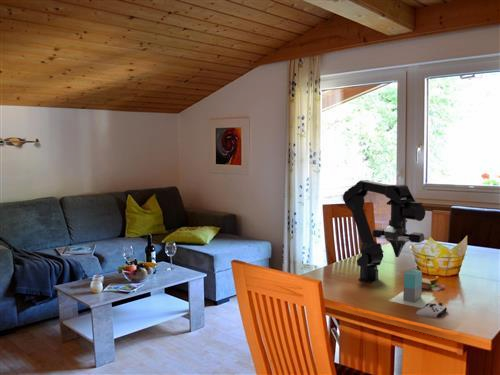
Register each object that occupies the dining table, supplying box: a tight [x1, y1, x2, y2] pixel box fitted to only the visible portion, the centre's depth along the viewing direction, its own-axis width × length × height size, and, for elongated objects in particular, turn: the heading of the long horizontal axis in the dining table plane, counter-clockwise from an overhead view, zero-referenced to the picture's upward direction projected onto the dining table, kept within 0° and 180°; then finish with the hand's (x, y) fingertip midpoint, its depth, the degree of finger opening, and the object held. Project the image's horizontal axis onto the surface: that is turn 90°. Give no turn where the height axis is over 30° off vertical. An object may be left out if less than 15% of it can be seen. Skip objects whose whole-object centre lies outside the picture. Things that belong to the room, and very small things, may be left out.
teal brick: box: [403, 268, 423, 289], centre depth 170 cm, size 4×7×5 cm, turn 141°
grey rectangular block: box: [403, 284, 423, 303], centre depth 171 cm, size 4×7×5 cm, turn 141°
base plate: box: [388, 290, 436, 309], centre depth 171 cm, size 12×14×1 cm
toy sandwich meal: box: [422, 277, 446, 293], centre depth 185 cm, size 12×14×5 cm
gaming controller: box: [415, 302, 448, 319], centre depth 158 cm, size 11×6×7 cm
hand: (397, 256), depth 184 cm, fingers closed
